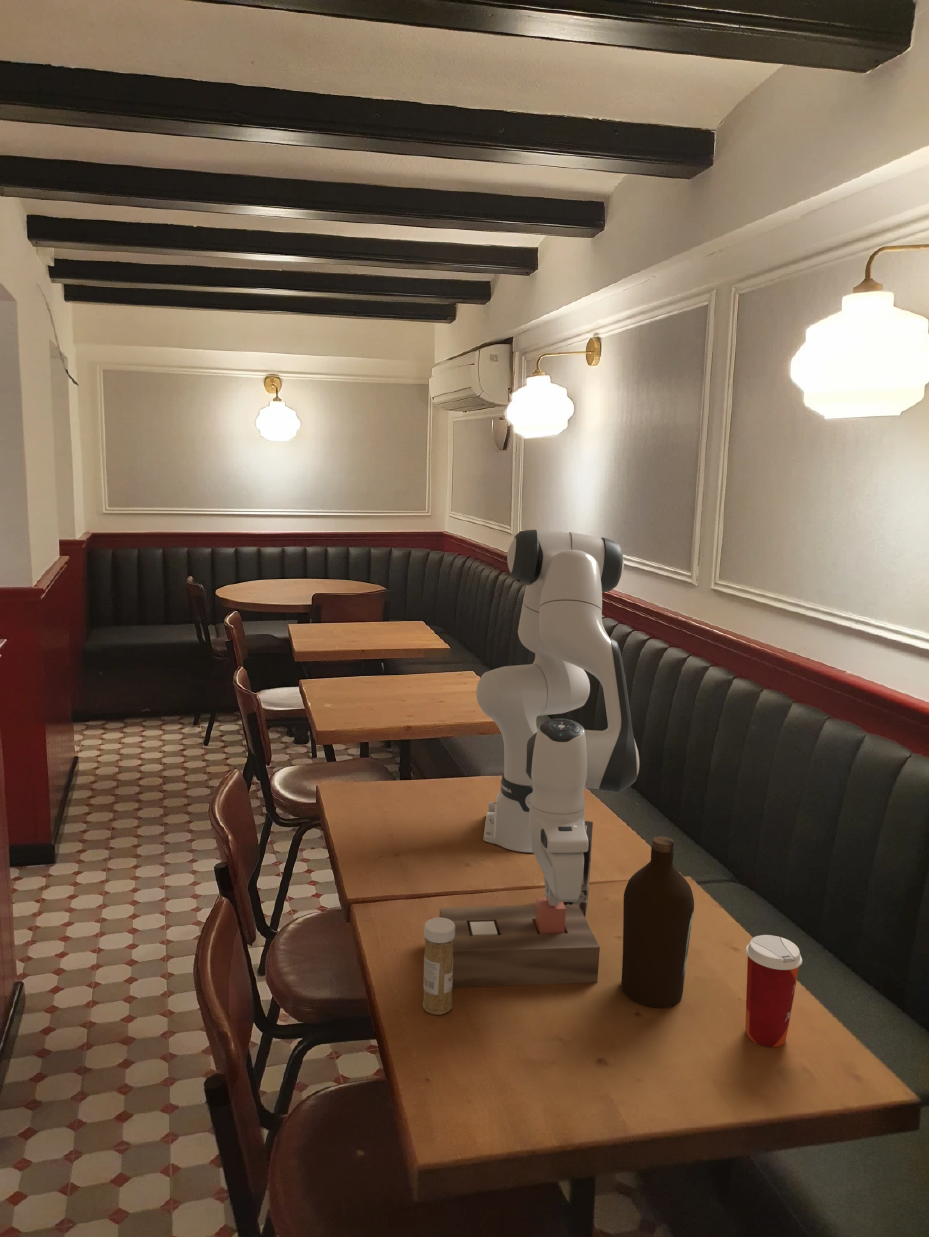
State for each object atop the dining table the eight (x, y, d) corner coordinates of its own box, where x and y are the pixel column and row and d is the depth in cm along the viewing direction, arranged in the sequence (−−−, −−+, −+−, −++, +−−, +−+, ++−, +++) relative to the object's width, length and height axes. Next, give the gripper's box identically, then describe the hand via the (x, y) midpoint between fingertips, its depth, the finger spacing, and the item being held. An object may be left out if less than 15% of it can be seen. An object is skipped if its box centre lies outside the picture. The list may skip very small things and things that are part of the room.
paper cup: (804, 1047, 130) (814, 957, 127) (758, 1055, 128) (767, 963, 125) (771, 1015, 137) (780, 929, 135) (727, 1022, 135) (735, 935, 133)
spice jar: (457, 1012, 135) (460, 928, 133) (428, 1018, 133) (431, 933, 131) (444, 995, 139) (447, 913, 137) (417, 1001, 137) (419, 919, 135)
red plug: (534, 930, 151) (536, 897, 150) (558, 929, 152) (560, 896, 151) (539, 942, 147) (541, 909, 146) (563, 941, 148) (565, 908, 147)
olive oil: (627, 1011, 137) (638, 855, 133) (610, 972, 147) (620, 826, 143) (696, 1010, 138) (709, 855, 133) (674, 971, 148) (686, 826, 144)
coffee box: (585, 925, 162) (590, 840, 159) (549, 920, 163) (554, 836, 160) (589, 902, 171) (594, 820, 168) (554, 897, 172) (559, 816, 169)
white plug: (468, 954, 151) (469, 921, 150) (492, 953, 151) (493, 921, 150) (471, 967, 147) (472, 934, 146) (496, 966, 147) (497, 933, 146)
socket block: (438, 940, 155) (439, 907, 154) (576, 936, 158) (578, 904, 157) (446, 987, 141) (448, 951, 140) (597, 981, 144) (599, 946, 143)
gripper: (524, 798, 156) (521, 873, 158) (550, 847, 136) (546, 933, 138) (560, 797, 157) (556, 873, 159) (591, 846, 137) (586, 932, 139)
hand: (552, 901), depth 148 cm, fingers closed
